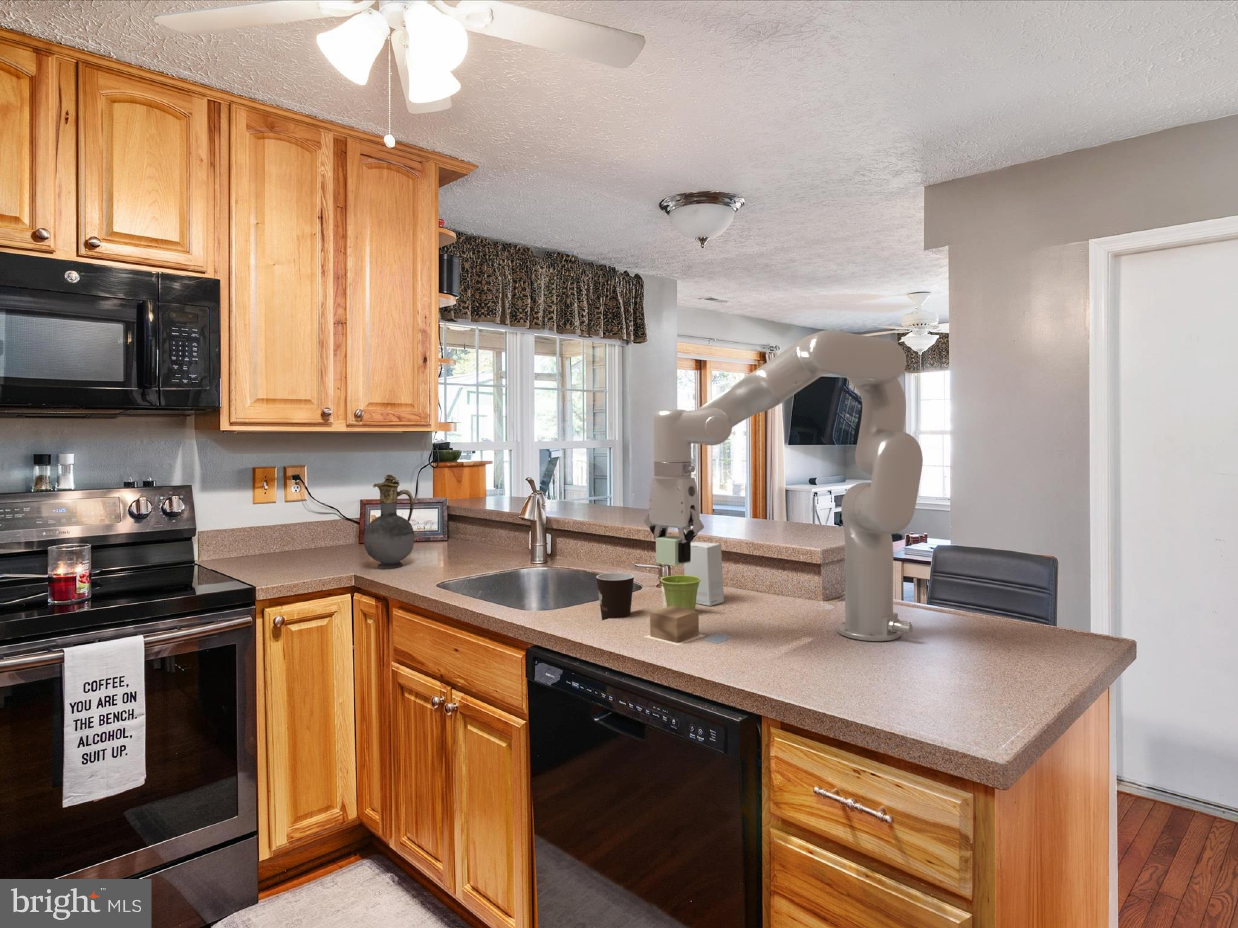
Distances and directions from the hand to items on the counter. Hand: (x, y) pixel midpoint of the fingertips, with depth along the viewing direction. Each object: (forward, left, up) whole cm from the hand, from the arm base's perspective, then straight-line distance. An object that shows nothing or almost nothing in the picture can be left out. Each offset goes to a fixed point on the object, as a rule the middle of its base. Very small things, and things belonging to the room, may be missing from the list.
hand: (673, 559), depth 148 cm
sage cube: (0, 0, -1) cm, 1 cm away
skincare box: (+16, -31, -17) cm, 39 cm away
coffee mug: (+22, -6, -17) cm, 29 cm away
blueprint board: (-1, -1, -17) cm, 17 cm away
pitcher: (+123, -6, -17) cm, 124 cm away
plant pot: (+12, -17, -17) cm, 27 cm away
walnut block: (0, 0, -16) cm, 16 cm away
